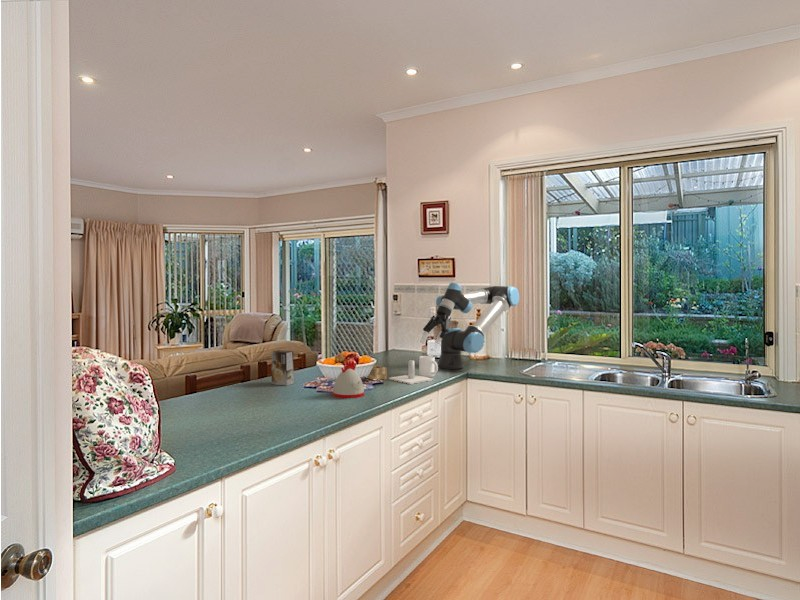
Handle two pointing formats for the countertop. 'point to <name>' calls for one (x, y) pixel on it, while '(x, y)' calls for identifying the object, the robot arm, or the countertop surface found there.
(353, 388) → the kitchen timer
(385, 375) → the collar
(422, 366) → the mug
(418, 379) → the post stand
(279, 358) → the coffee box
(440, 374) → the countertop surface
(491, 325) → the robot arm
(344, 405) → the countertop surface
